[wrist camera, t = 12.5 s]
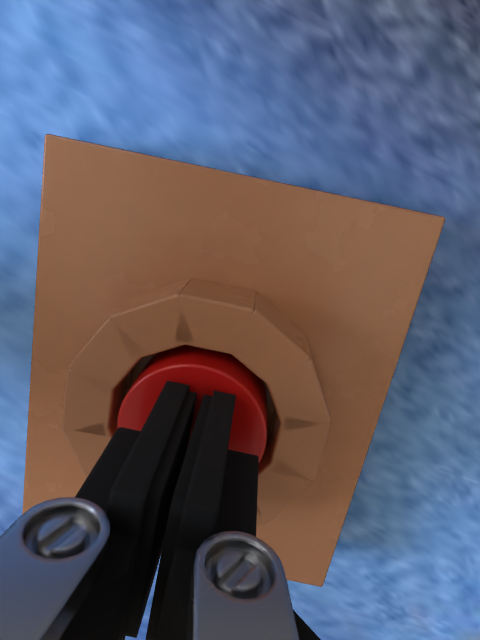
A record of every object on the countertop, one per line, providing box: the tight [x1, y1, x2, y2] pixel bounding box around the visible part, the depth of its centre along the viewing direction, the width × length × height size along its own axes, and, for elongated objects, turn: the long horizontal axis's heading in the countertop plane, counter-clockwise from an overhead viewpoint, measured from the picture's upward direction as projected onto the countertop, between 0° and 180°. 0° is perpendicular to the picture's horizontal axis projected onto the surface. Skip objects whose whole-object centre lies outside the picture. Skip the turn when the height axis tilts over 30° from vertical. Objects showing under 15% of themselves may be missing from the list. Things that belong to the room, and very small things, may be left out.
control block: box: [23, 134, 445, 587], centre depth 13 cm, size 12×10×4 cm
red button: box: [117, 345, 267, 462], centre depth 11 cm, size 4×4×2 cm
